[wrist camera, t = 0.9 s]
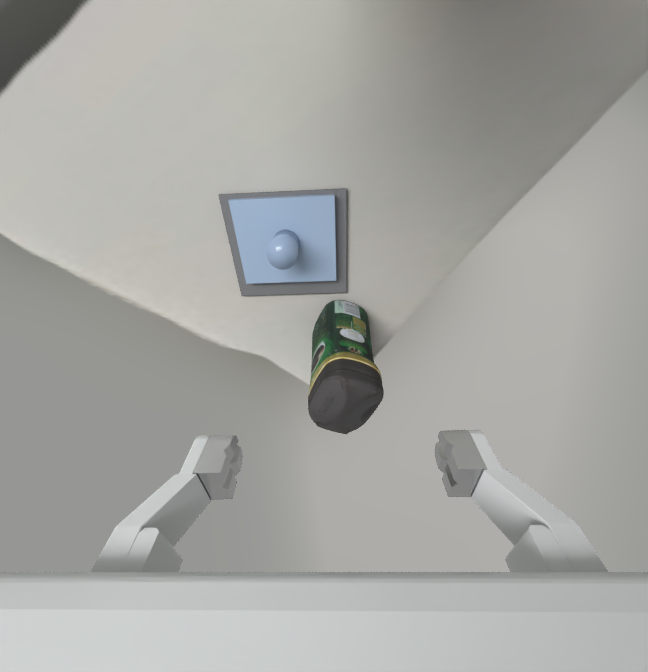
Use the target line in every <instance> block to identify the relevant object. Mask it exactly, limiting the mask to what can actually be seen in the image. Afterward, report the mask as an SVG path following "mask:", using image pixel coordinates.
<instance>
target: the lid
mask: <svg viewBox="0 0 648 672" xmlns="http://www.w3.org/2000/svg"><path fill="white" fill-rule="evenodd" d="M228 201H229V206H230V211H231V215H232V220H233V224H234V229H235V234H236V238H237V243H238V248H239V252H240V257H241V262H242V266H243V271H244V276H245V280H246V284H253V283H282V282H311V281H336V240H335V195H334V194H324V195H302V196H281V197H259V198H238V199H230V200H228Z"/></svg>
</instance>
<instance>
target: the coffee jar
mask: <svg viewBox="0 0 648 672" xmlns="http://www.w3.org/2000/svg"><path fill="white" fill-rule="evenodd" d="M382 399H383V387H382V379H381V374H380V371H379V370H378V368H377V366H376V365H375V364H374V360H373V354H372V347H371V340H370V330H369V322H368V316H367V313H366V312H365V311H364V310H363V309H362V308H361V307H359V306H357V305H355V304H353V303H351V302H347V301H343V300H335V301H332V302H330V303H328V304H327V305H326V306H325V308H324V309H323V310H322V312H321V314H320V316H319V318H318V320H317V322H316V324H315V327H314V331H313V337H312V370H311V381H310V389H309V396H308V407H309V408H308V409H309V414H310V417H311V419H312V420H313V421H314V422H315V423H316V425H317V426H319V427H321V428H324V429H327V430H331V431H334V432H338V433H343V434H347V433H349V432H351V431H353V430H356V429H358V428H359V427H361V426H362V425H363V424H364V423H365V422H366V421H367V420H368V419H369V417H370V416H371V415H372V413H374V411H375V410H376V408H377V407H378V405H379V404H380V402H381V401H382Z"/></svg>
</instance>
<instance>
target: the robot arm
mask: <svg viewBox="0 0 648 672" xmlns="http://www.w3.org/2000/svg"><path fill="white" fill-rule="evenodd" d="M438 438H439V442H438V443H436V447H435V458H436V462H437V465H438V468H439V469H440V470H441V471H442V472H443V473H444V475H443V478H442V480H443V483H444V486H445V489H446V492H447V495H448V496H449V497H471V499H472V500H473V501H474V502H475V503H476V504H477V505H478V506H479V507H480V509H481V510H482V511H483V512H484V513H485V514H486V515H487V516H488V517H489V518H490V519H491V520H492V522H493V523H494V524H495V525H496V526H497V527H498V528H499V529H500V530H501V531H502V532H503V533H504V534H505V536H506V537H507V538H508V539H509V540H510V541H511V542H512V543H513V544H514V545H515V546H514V547H513V549H512V550H511V551H510V553H509V554H508V555H507V557H506V559H505V560H506V562H507V565H508V567H509V569H510V572H179V569H180V565H181V563H182V558H181V556H180V555H179V554H178V552H177V551H176V550H175V549H174V548H173V547H174V545H175V544H176V543H177V542H178V541H179V540H180V538H181V537H182V536H183V535H184V533H185V532H186V531H187V530H188V529H189V527H190V526H191V525H192V524H193V522H194V521H195V520H196V519H197V518H198V516H199V515H200V514H201V513H202V512H203V510H204V509H205V508H206V507H207V505H208V504H209V503H210V502H211V500H216V499H232V498H233V494H234V491H235V487H236V484H237V481H236V479H235V476H236V475H237V474H238V473H239V472H240V469H241V465H242V450H241V447H239V446H238V445H237V443H238V439H237V437H236V436H198V437H197V438H196V439H195V441H194V443H193V445H192V447H191V449H190V451H189V454H188V456H187V458H186V460H185V462H184V464H183V467H182V469H181V471H180V473H179V474H175V475H174V476H173V477H172V478H171V479H169V480H168V481H167V482H166V483H165V484H164V485H163V486H162V487H161V488H159V489H158V490H157V491H156V492H155V493H154V494H153V495H151V496H150V497H149V498H148V499H147V500H146V501H145V502H143V503H142V504H141V505H140V506H139V507H138V508H137V509H135V510H134V511H133V512H132V513H131V514H130V515H129V516H127V517H126V518H125V519H124V520H123V521H122V522H121V523H120V524H118V525H117V526H116V527H115V529H114V531H113V533H112V535H111V536H110V538H109V540H108V542H107V543H106V545H105V547H104V549H103V551H102V552H101V554H100V556H99V558H98V559H97V561H96V563H95V565H94V566H93V568H92V570H91V572H0V672H648V572H608V570H607V569H606V568H605V566H604V564H603V563H602V562H601V560H600V558H599V557H598V555H597V554H596V552H595V551H594V549H593V548H592V546H591V545H590V543H589V541H588V540H587V538H586V537H585V535H584V534H583V532H582V531H581V529H580V528H579V526H578V525H577V524H576V523H575V522H574V521H572V520H571V519H570V518H569V517H568V516H566V515H565V514H564V513H562V512H561V511H560V510H559V509H557V508H556V507H555V506H553V505H552V504H551V503H550V502H548V501H547V500H546V499H544V498H543V497H542V496H541V495H539V494H538V493H537V492H536V491H534V490H533V489H532V488H530V487H529V486H528V485H527V484H525V483H524V482H523V481H521V480H520V479H519V478H517V477H516V476H515V475H514V474H512V473H511V472H510V471H509V470H507V469H505V470H504V469H503V468H502V466H501V464H500V463H499V461H498V459H497V457H496V455H495V453H494V452H493V450H492V448H491V446H490V444H489V442H488V441H487V439H486V437H485V435H484V433H483V432H482V431H481V430H453V431H440V432H439V435H438Z"/></svg>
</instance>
